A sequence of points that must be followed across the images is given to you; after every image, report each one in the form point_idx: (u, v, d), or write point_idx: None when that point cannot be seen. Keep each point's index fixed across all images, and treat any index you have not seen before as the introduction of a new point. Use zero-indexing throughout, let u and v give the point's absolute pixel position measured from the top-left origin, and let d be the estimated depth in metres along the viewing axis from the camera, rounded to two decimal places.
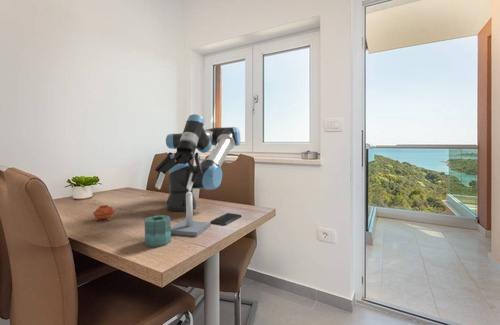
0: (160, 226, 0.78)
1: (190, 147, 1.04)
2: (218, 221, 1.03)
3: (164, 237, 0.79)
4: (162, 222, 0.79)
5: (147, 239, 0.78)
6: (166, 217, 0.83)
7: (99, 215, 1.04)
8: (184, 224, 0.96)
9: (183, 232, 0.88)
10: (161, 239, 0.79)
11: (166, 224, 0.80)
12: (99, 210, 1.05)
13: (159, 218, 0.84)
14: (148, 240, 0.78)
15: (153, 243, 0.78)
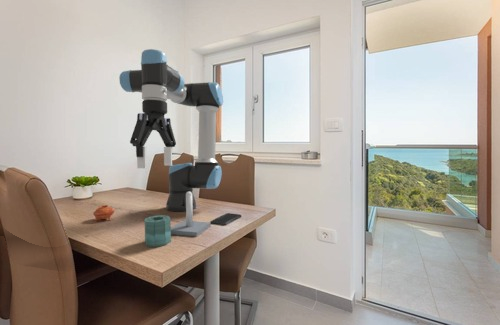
0: (160, 226, 0.78)
1: None
2: (218, 221, 1.03)
3: (164, 237, 0.79)
4: (162, 222, 0.79)
5: (147, 239, 0.78)
6: (166, 217, 0.83)
7: (99, 215, 1.04)
8: (184, 224, 0.96)
9: (183, 232, 0.88)
10: (161, 239, 0.79)
11: (166, 224, 0.80)
12: (99, 210, 1.05)
13: (159, 218, 0.84)
14: (148, 240, 0.78)
15: (153, 243, 0.78)
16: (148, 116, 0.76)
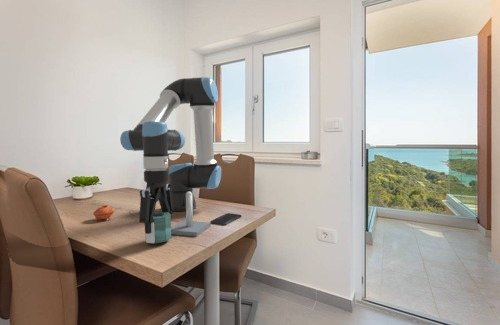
0: (160, 222, 0.79)
1: None
2: (218, 221, 1.03)
3: (164, 233, 0.80)
4: (162, 218, 0.79)
5: None
6: (166, 213, 0.83)
7: (99, 215, 1.04)
8: (184, 224, 0.96)
9: (183, 232, 0.88)
10: (161, 235, 0.79)
11: (166, 220, 0.80)
12: (99, 210, 1.05)
13: (159, 214, 0.84)
14: None
15: None
16: (150, 188, 0.77)
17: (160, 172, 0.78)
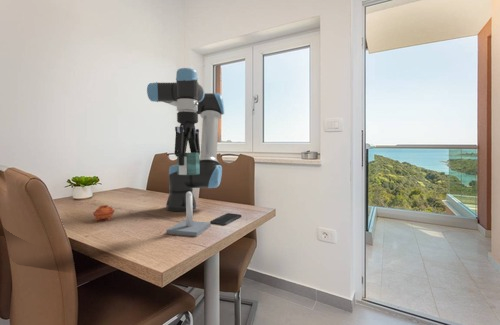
0: (191, 157, 0.90)
1: None
2: (218, 221, 1.03)
3: (195, 167, 0.90)
4: (193, 154, 0.90)
5: None
6: None
7: (99, 215, 1.04)
8: (184, 224, 0.96)
9: (183, 232, 0.88)
10: (192, 169, 0.90)
11: (196, 157, 0.91)
12: (99, 210, 1.05)
13: None
14: None
15: None
16: (183, 126, 0.88)
17: (192, 113, 0.89)
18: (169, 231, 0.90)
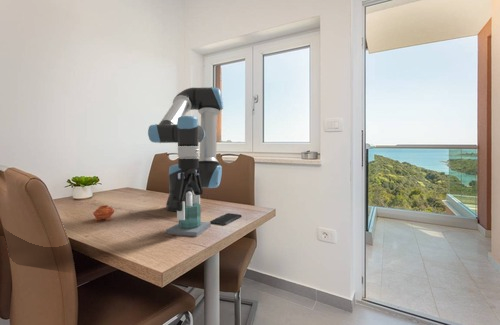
0: (193, 211, 0.91)
1: None
2: (218, 221, 1.03)
3: (196, 221, 0.92)
4: (194, 208, 0.91)
5: (182, 222, 0.91)
6: (196, 204, 0.95)
7: (99, 215, 1.04)
8: None
9: (183, 232, 0.88)
10: (193, 222, 0.91)
11: (197, 210, 0.93)
12: (99, 210, 1.05)
13: None
14: (182, 223, 0.91)
15: (187, 225, 0.91)
16: (184, 173, 0.89)
17: (193, 160, 0.90)
18: (169, 231, 0.90)
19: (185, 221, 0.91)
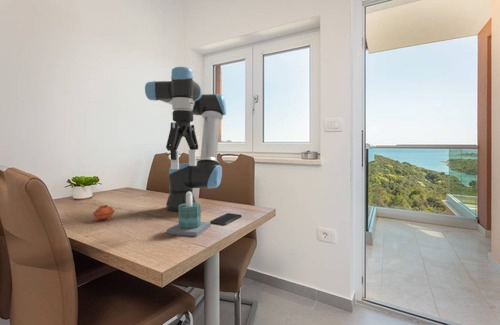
0: (193, 211, 0.91)
1: None
2: (218, 221, 1.03)
3: (196, 221, 0.92)
4: (194, 208, 0.91)
5: (182, 222, 0.91)
6: (196, 204, 0.95)
7: (99, 215, 1.04)
8: None
9: (183, 232, 0.88)
10: (193, 222, 0.91)
11: (197, 210, 0.93)
12: (99, 210, 1.05)
13: None
14: (182, 223, 0.91)
15: (187, 225, 0.91)
16: (179, 124, 0.89)
17: (187, 111, 0.90)
18: (169, 231, 0.90)
19: (185, 221, 0.91)
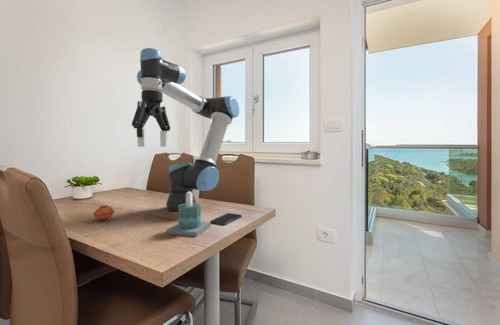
0: (193, 211, 0.91)
1: None
2: (218, 221, 1.03)
3: (196, 221, 0.92)
4: (194, 208, 0.91)
5: (182, 222, 0.91)
6: (196, 204, 0.95)
7: (99, 215, 1.04)
8: None
9: (183, 232, 0.88)
10: (193, 222, 0.91)
11: (197, 210, 0.93)
12: (99, 210, 1.05)
13: None
14: (182, 223, 0.91)
15: (187, 225, 0.91)
16: (146, 104, 0.91)
17: (155, 91, 0.92)
18: (169, 231, 0.90)
19: (185, 221, 0.91)
